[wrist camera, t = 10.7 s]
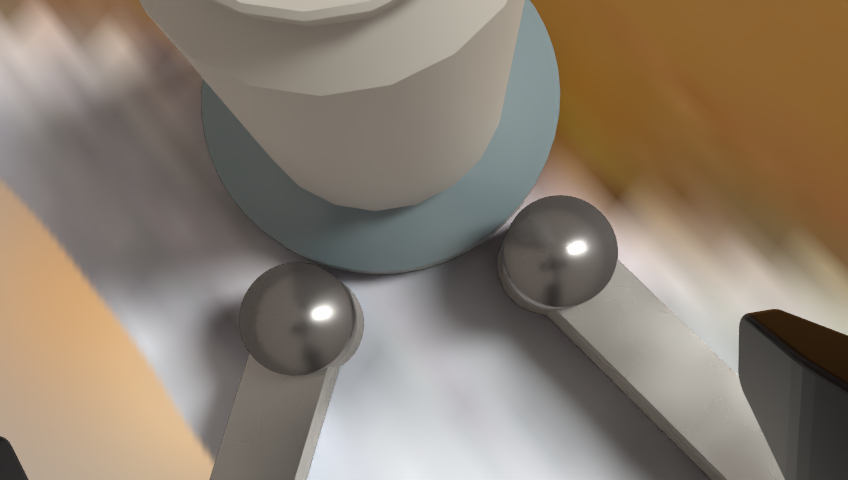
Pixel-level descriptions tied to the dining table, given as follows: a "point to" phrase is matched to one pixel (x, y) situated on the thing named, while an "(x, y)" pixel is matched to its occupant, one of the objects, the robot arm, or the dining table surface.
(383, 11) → the can
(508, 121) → the pad
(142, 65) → the dining table surface
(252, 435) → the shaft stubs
